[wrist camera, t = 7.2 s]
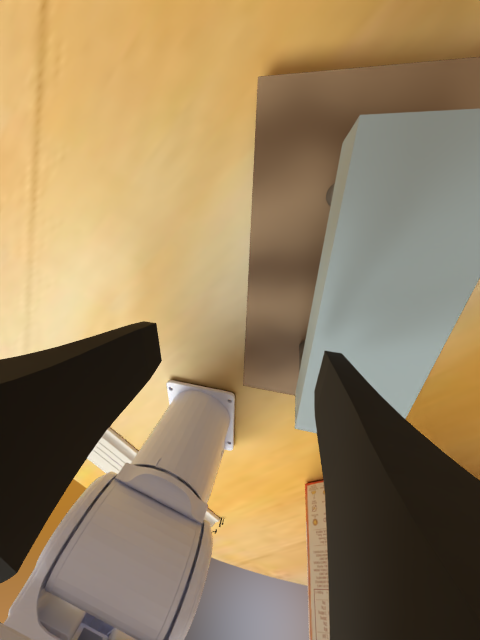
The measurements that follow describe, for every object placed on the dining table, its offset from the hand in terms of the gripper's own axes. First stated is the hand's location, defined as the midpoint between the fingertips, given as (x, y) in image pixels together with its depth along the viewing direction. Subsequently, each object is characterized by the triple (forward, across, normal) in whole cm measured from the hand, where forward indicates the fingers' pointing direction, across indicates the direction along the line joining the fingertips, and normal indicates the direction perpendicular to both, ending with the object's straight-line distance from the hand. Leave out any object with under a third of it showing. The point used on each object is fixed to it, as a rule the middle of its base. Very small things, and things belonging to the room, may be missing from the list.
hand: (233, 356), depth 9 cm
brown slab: (+10, -6, -1) cm, 11 cm away
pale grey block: (+5, -6, -1) cm, 8 cm away
